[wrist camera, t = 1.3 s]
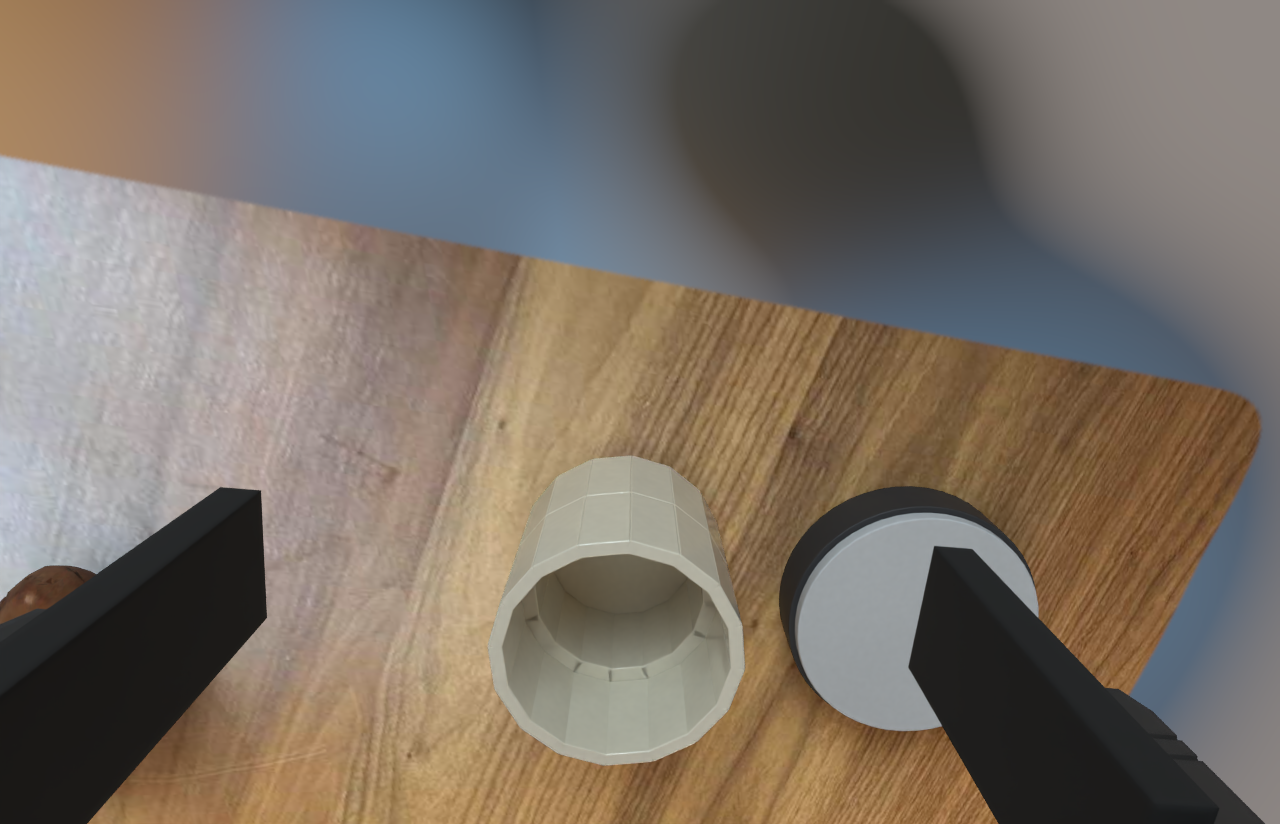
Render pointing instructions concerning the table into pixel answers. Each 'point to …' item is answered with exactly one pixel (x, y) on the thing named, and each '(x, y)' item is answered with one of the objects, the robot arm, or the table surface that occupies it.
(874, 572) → the scale
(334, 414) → the table surface
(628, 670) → the faceted beige cup
